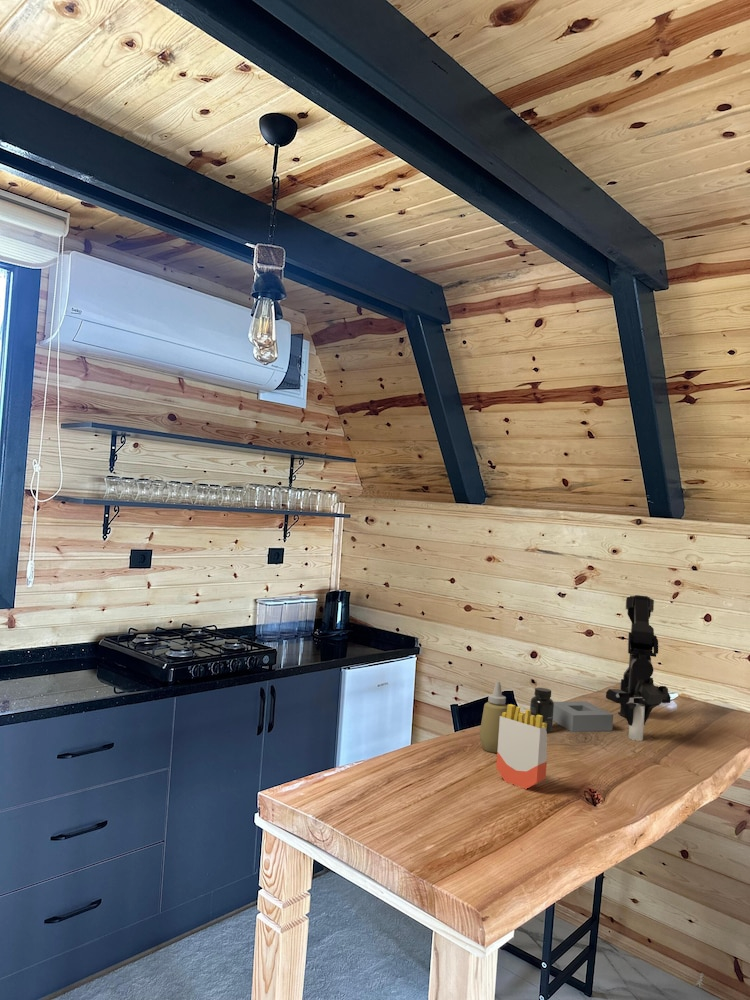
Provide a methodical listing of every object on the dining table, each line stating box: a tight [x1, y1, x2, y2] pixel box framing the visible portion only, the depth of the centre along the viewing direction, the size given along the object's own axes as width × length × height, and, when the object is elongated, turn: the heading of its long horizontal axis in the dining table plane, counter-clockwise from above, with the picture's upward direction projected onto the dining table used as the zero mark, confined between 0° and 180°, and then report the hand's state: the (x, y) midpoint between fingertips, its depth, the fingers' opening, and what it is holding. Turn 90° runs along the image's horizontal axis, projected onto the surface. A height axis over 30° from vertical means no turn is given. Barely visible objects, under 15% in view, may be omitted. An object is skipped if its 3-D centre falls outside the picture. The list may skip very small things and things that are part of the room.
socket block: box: [553, 700, 614, 733], centre depth 212 cm, size 14×14×5 cm
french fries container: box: [495, 703, 548, 790], centre depth 160 cm, size 5×11×18 cm, turn 47°
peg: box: [627, 703, 645, 742], centre depth 201 cm, size 4×4×10 cm
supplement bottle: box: [529, 687, 555, 734], centre depth 204 cm, size 7×7×12 cm
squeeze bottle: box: [479, 681, 508, 754], centre depth 183 cm, size 8×8×18 cm
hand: (636, 725), depth 201 cm, fingers closed on peg, 4 cm apart
